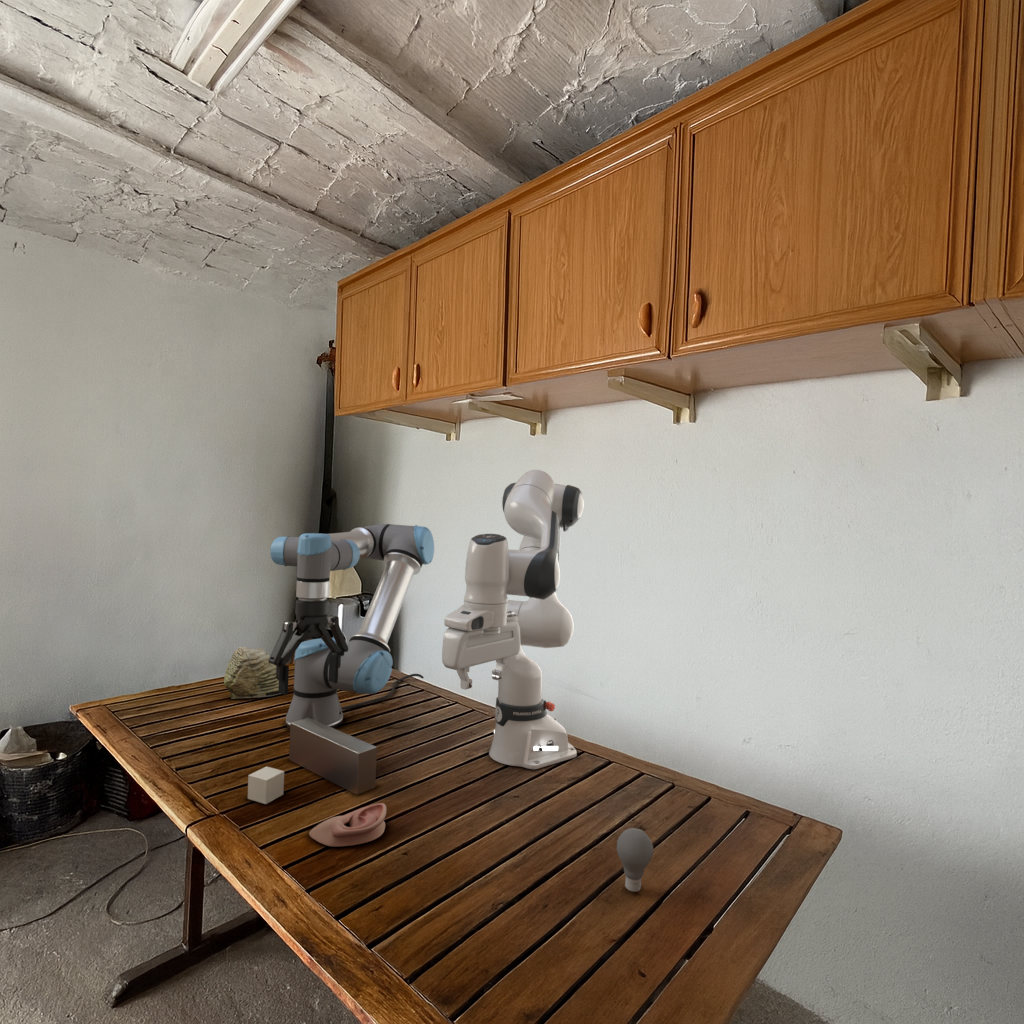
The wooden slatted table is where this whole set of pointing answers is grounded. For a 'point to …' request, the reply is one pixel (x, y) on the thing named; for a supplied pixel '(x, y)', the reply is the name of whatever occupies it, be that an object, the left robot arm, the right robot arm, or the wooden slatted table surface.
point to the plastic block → (265, 785)
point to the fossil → (251, 674)
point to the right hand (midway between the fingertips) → (482, 683)
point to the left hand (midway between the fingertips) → (308, 687)
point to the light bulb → (634, 856)
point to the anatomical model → (352, 827)
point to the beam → (333, 755)
